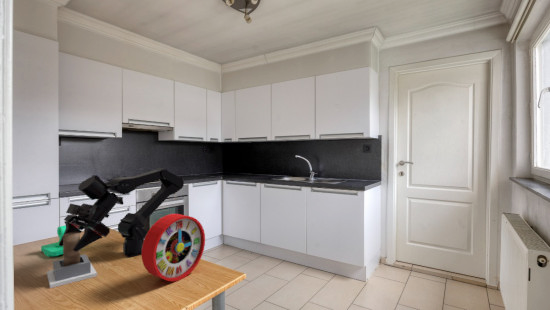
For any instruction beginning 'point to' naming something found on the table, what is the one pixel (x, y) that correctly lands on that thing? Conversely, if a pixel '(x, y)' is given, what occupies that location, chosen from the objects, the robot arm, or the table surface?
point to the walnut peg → (70, 248)
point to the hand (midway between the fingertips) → (67, 248)
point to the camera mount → (54, 244)
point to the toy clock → (173, 247)
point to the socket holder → (70, 272)
